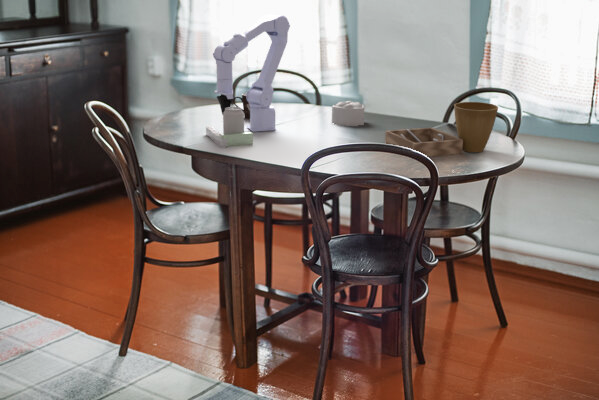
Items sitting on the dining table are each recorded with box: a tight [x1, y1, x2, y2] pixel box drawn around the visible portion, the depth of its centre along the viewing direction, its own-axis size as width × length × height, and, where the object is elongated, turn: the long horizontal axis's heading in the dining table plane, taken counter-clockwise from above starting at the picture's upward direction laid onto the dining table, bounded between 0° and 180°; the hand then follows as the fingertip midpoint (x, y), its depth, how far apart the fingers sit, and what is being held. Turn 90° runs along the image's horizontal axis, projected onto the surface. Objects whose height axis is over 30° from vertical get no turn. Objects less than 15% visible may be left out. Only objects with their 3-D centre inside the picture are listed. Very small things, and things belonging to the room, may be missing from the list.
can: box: [222, 106, 245, 135], centre depth 275 cm, size 8×8×12 cm
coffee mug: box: [232, 92, 250, 121], centre depth 316 cm, size 12×9×10 cm
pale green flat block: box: [205, 126, 254, 149], centre depth 277 cm, size 12×22×4 cm, turn 21°
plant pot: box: [453, 101, 499, 153], centre depth 265 cm, size 15×15×16 cm
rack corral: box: [384, 127, 463, 158], centre depth 267 cm, size 19×21×5 cm
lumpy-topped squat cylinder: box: [331, 100, 365, 127], centre depth 308 cm, size 10×13×9 cm
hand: (225, 115), depth 284 cm, fingers closed
